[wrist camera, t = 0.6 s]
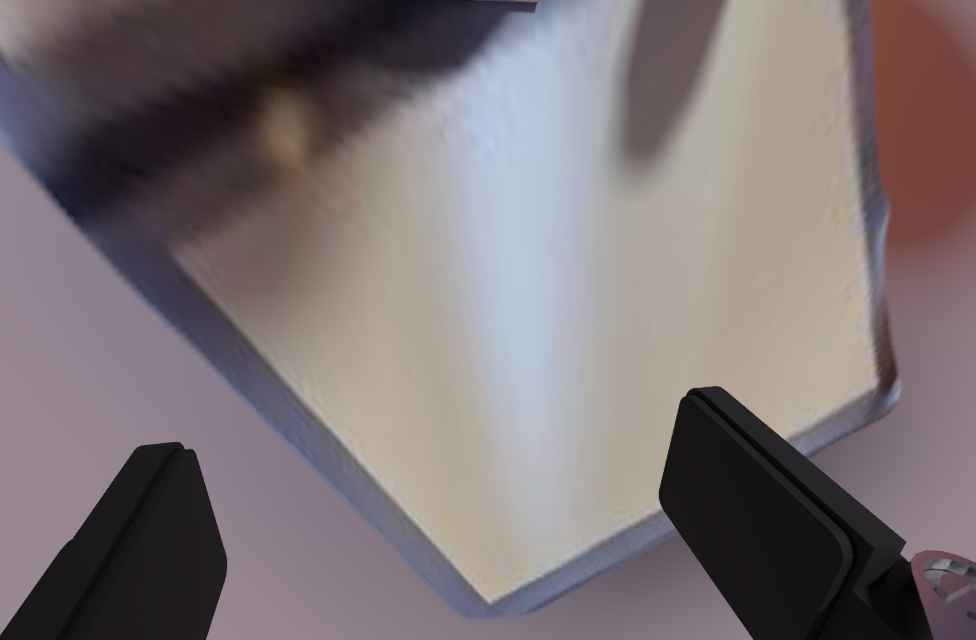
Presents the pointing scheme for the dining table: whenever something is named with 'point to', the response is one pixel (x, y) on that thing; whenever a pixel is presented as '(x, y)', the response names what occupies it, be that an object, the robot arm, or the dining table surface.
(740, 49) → the dining table surface
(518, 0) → the mat
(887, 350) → the dining table surface
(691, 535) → the robot arm
